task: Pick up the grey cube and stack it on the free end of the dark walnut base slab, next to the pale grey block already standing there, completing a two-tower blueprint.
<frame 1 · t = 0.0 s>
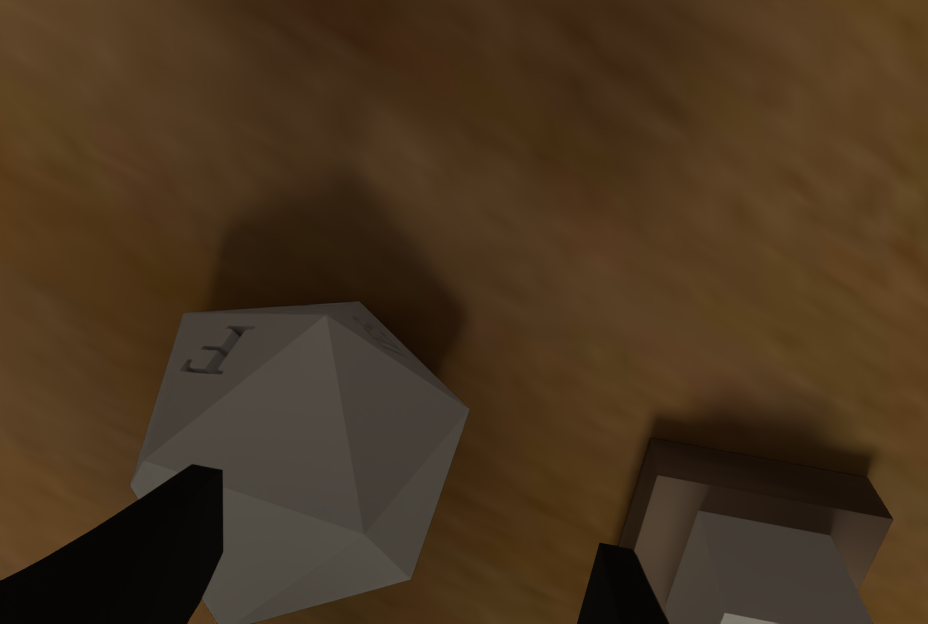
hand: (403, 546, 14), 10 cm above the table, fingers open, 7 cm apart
die: (339, 376, 24), on the table
base slab: (699, 613, 26), on the table
grey block: (744, 571, 23), point 2 cm above the table, touching base slab
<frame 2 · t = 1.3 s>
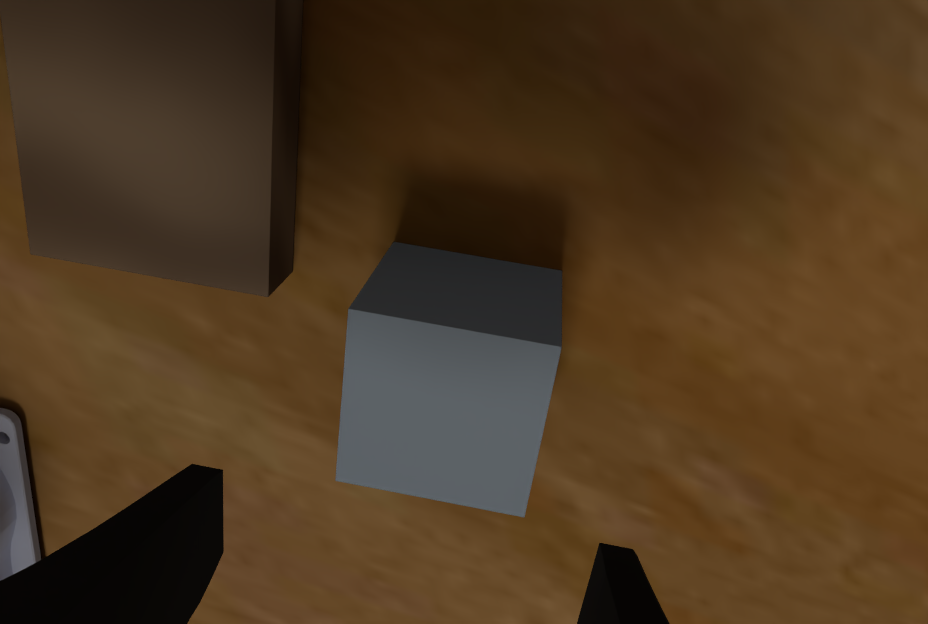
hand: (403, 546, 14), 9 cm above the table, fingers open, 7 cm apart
base slab: (174, 7, 19), on the table
grey cube: (466, 330, 22), on the table
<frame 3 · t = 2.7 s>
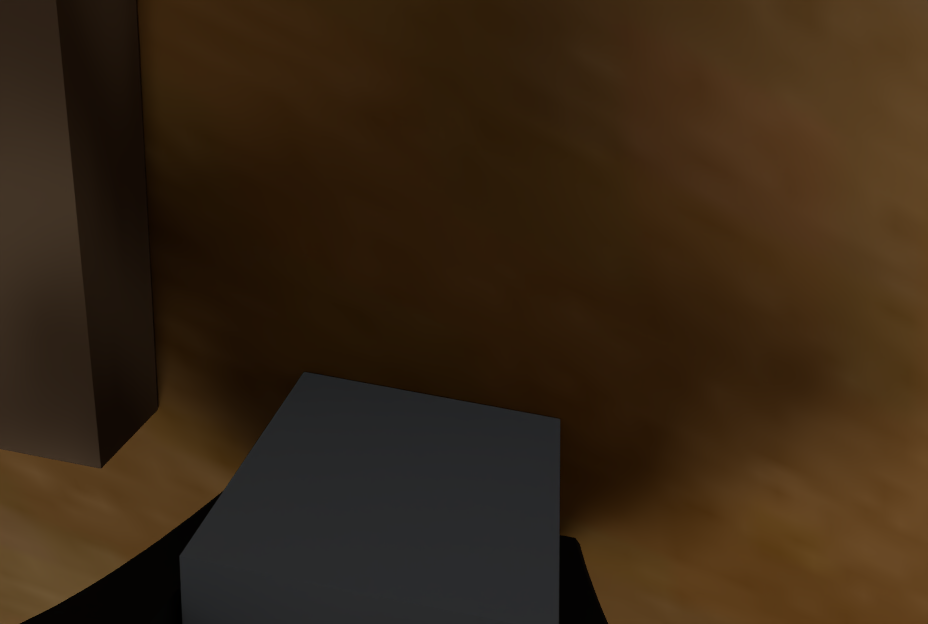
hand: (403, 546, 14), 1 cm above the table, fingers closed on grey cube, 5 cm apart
grey cube: (416, 498, 15), on the table, touching gripper
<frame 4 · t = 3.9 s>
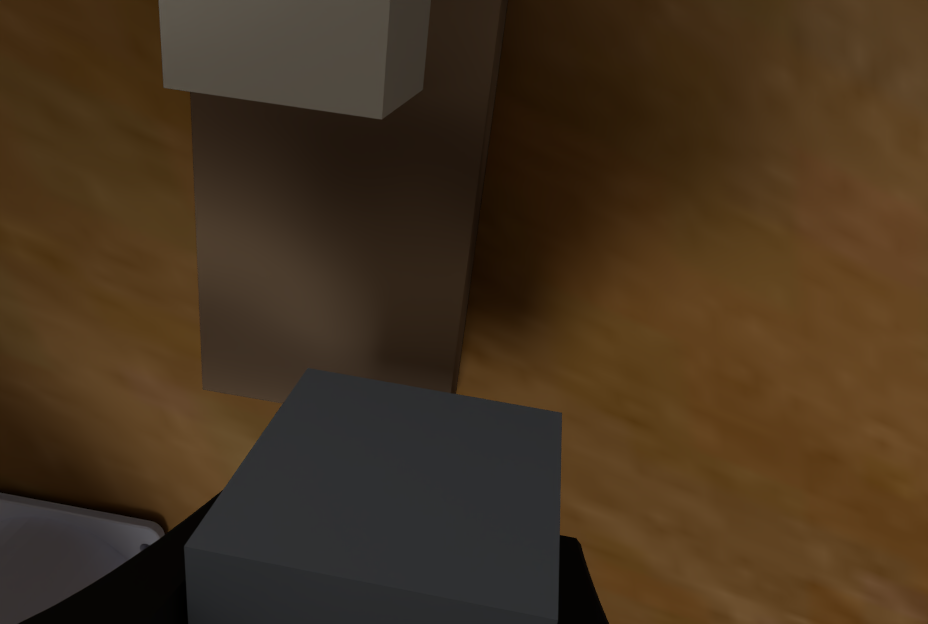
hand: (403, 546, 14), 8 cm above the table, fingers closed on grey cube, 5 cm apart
base slab: (355, 147, 19), on the table
grey cube: (420, 493, 15), point 7 cm above the table, touching gripper
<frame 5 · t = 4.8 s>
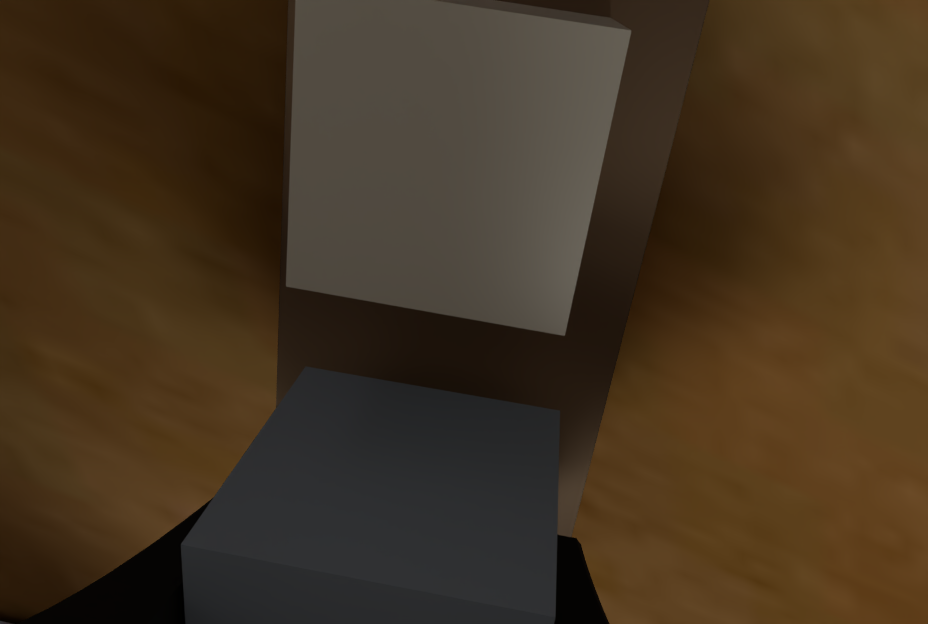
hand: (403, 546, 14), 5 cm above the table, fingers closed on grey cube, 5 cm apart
base slab: (459, 283, 16), on the table
grey cube: (419, 491, 15), point 3 cm above the table, touching gripper
grey block: (475, 120, 13), point 2 cm above the table, touching base slab
when the fingers open (5 cm above the table, at t = 5.3 s): grey cube drops 1 cm, resting on base slab.
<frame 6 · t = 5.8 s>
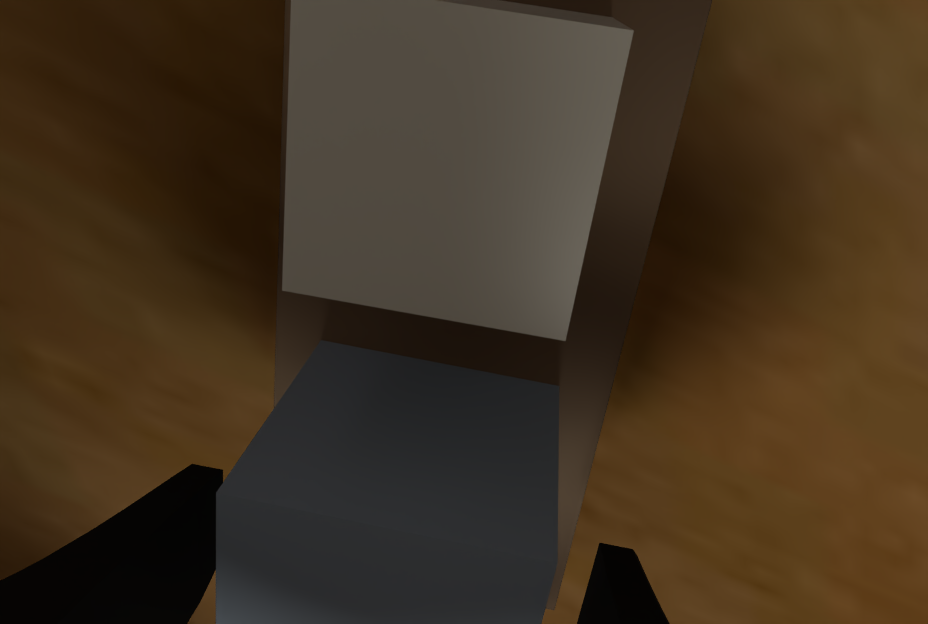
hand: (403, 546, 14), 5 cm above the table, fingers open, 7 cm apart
base slab: (459, 285, 16), on the table
grey cube: (424, 461, 16), point 2 cm above the table, touching base slab
grey block: (474, 121, 13), point 2 cm above the table, touching base slab
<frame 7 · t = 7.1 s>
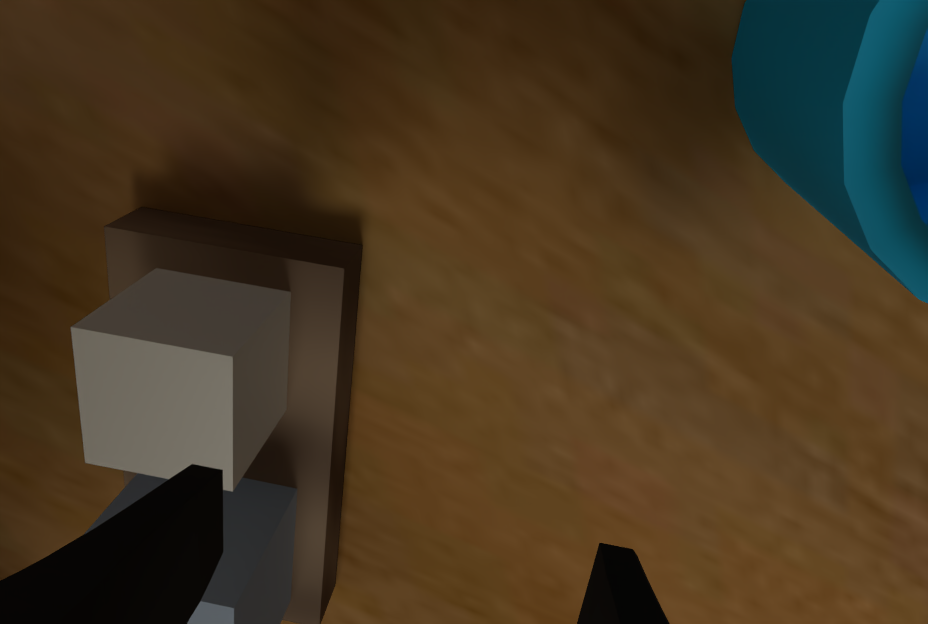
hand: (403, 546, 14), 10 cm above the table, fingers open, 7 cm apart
base slab: (248, 417, 25), on the table
grey cube: (222, 532, 25), point 2 cm above the table, touching base slab
grey block: (223, 341, 22), point 2 cm above the table, touching base slab
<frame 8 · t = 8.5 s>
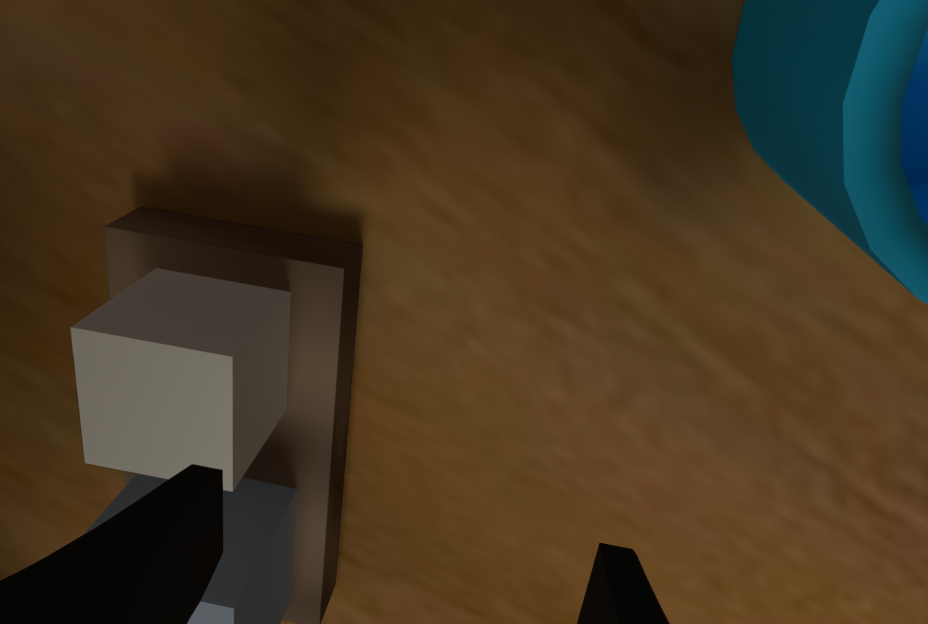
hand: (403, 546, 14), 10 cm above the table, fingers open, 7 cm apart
base slab: (248, 417, 25), on the table
grey cube: (222, 532, 25), point 2 cm above the table, touching base slab
grey block: (223, 341, 22), point 2 cm above the table, touching base slab
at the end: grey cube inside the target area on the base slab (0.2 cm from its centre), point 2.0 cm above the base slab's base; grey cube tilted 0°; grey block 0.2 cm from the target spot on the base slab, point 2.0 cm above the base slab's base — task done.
